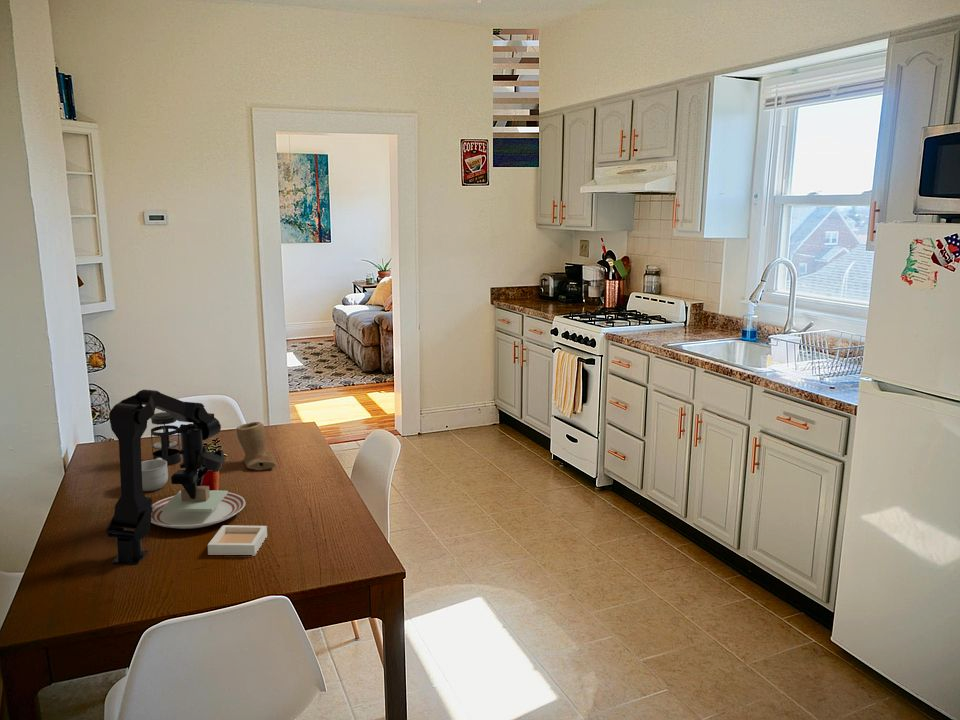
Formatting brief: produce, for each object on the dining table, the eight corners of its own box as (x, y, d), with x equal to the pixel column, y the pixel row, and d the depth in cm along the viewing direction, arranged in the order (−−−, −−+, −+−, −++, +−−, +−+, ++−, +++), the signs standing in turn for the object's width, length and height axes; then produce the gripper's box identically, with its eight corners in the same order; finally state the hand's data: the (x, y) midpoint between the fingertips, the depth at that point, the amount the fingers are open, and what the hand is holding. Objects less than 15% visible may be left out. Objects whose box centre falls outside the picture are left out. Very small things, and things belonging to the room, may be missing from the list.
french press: (153, 457, 263) (149, 395, 258) (181, 455, 266) (177, 393, 261) (150, 468, 252) (146, 403, 247) (180, 466, 255) (176, 401, 250)
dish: (254, 556, 190) (254, 545, 189) (208, 555, 190) (207, 544, 189) (267, 536, 202) (266, 525, 201) (223, 535, 202) (222, 525, 201)
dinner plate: (147, 505, 222) (147, 494, 221) (242, 494, 232) (242, 484, 231) (142, 543, 197) (141, 531, 196) (249, 529, 206) (248, 518, 206)
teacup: (155, 495, 228) (153, 471, 227) (124, 492, 231) (122, 468, 229) (181, 480, 242) (180, 456, 240) (152, 477, 244) (150, 454, 242)
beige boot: (236, 460, 262) (234, 419, 259) (271, 456, 266) (269, 416, 264) (240, 474, 248) (238, 431, 245) (277, 470, 253) (275, 428, 250)
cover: (211, 511, 206) (211, 497, 206) (161, 511, 206) (160, 496, 205) (227, 493, 220) (227, 479, 219) (180, 492, 220) (180, 478, 219)
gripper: (209, 455, 201) (212, 509, 204) (230, 435, 219) (233, 485, 222) (168, 455, 201) (171, 509, 204) (193, 435, 219) (196, 484, 222)
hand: (195, 496), depth 213 cm, fingers closed on cover, 3 cm apart
